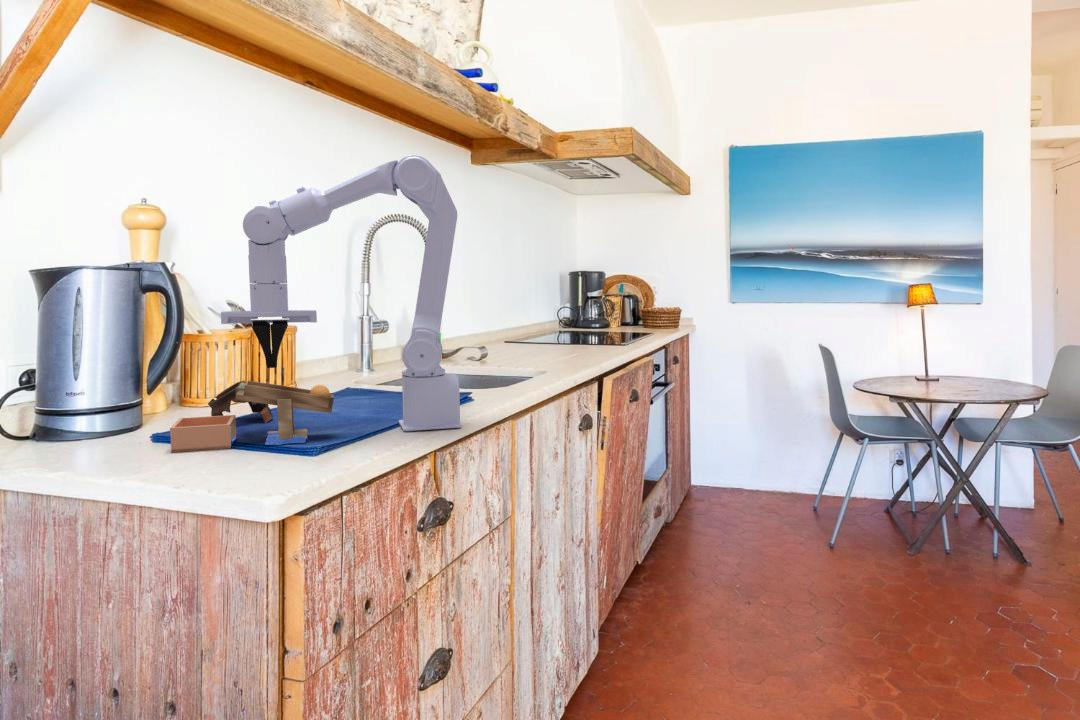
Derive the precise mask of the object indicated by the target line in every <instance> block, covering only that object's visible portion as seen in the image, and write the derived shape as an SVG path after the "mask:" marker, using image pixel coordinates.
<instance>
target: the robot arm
mask: <svg viewBox="0 0 1080 720" xmlns="http://www.w3.org/2000/svg"><path fill="white" fill-rule="evenodd" d="M397 190H399V191H400V192H401V194H402V195H403V196H404V198H406V199H407V200H409V201H410V202H412V203H414V204H415V205H416V206H418V208H419V209H420V211H421V212H422V213H423V215H424V216H425V218H427V220H428V226H427V231H426V240H425V245H424V253H423V259H422V265H421V273H420V279H419V283H418V284H419V285H418V291H417V299H416V305H415V312H414V318H413V322H412V327H411V333H410V337H409V339H408V341H407V342H406V344H404V347H403V349H402V352H401V355H402V356H401V359H402V363H403V365H404V366H405V367H406V369H405V370H402V371H401V387H402V388H401V391H402V419H398V424H399V426H400V427H401V429H402V430H403V432H414V431H415V432H416V431H428V430H430V431H431V430H444V429H459V428H461V427H462V424H461V405H460V404H461V403H460V402H461V401H460V399H461V398H460V395H461V394H460V383H459V377H458V375H457V373H452V372H451V373H450V372H449V373H446V369H445V368H443V367H442V366H441V365H440V364H441V362H442V355H443V345H442V342H441V338H440V334H441V333H440V332H441V327H442V326H441V325H442V319H443V312H444V307H445V306H444V305H445V298H446V294H447V293H446V292H447V287H448V280H449V274H450V269H451V268H450V267H451V260H452V255H453V247H454V241H455V233H456V229H457V228H456V227H457V223H458V222H457V221H458V209H457V208H456V205H455V203H454V201H453V199H452V197H451V194H450V192H449V191H448V189H447V186H446V184H445V181H444V179H443V177H442V175H441V173H440V171H438V169H437V168H436V167H435V166H434V165H433V164H432V162H430V161H429V160H428V159H427V158H425V157H424V156H421V155H418V154H410V155H405V156H404V157H402V158H401V159H400V160H399V161H398V159H394V160H390V161H387V162H385V163H383V164H380V165H378V166H375V167H373V168H371V169H369V170H367V171H365V172H362V173H360V174H358V175H356V176H354V177H352V178H350V179H348V180H346V181H343V182H341V183H338V184H337V185H334V186H332V187H331V188H328V189H326V190H324V191H323V190H320V189H317V188H315V187H310V188H306V187H304V186H301V187H299V188H297V189H296V194H292V195H291V196H289V197H286V198H283V199H281V200H279V201H277V200H276V199H273V200H271V201H269V202H268V205H269V206H265V205H256V206H255V207H254V208H252V209H251V210H249V211H248V212H247V213H246V214H245V216H244V218H243V221H242V229H243V233H244V235H246V237H247V238H248V240H247V241H248V257H247V258H248V276H249V277H248V278H249V281H248V282H249V297H250V298H249V301H250V310H239V311H236V310H234V311H232V310H231V311H230V310H229V311H220V323H221V325H229V324H251V329H252V331H253V333H254V334H255V336H256V338H257V340H258V343H259V345H260V347H261V349H262V352H263V355H264V358H265V359H264V360H265V361H266V368H267V369H274V368H275V369H276V368H277V367H278V357H279V353H280V349H281V345H282V341H283V339H284V336H285V334H286V331H287V329H288V327H289V323H310V324H311V323H317V322H318V318H317V317H318V316H317V315H318V314H317V310H315V309H312V310H309V309H308V310H305V309H304V310H303V309H302V310H297V309H296V310H292V309H291V310H289V300H288V299H289V294H288V293H289V292H288V275H287V274H288V273H287V255H286V241H287V239H288V237H289V235H290V236H296V235H298V234H301V233H302V232H305V231H307V230H309V229H313V228H315V227H317V226H319V225H321V224H325V223H327V222H329V220H330V218H331V214H332V212H333V211H334V210H337V209H339V208H343V207H345V206H348V205H350V204H353V203H354V202H358V201H360V200H363V199H365V198H368V197H371V196H373V195H374V196H375V195H376V194H383V195H388V196H389V195H390V196H394V197H396V196H398V192H397ZM280 317H281V319H259V318H280Z"/></svg>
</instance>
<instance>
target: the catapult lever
mask: <svg viewBox="0 0 1080 720" xmlns="http://www.w3.org/2000/svg"><path fill="white" fill-rule="evenodd" d="M246 383H247V384H246ZM246 383H241V384H239V386H238V387H237V388H236V392H235V394H236V398H235V400H242V401H249V402H256V403H263V404H268V405H269V406H271V405H272V406H277V400H278V399H291V406H292V408H293V409H298V410H306V411H312V412H320V413H327V414H332V410H333V404H334V399H335V397H334V393H333V392H330V396H329V397H327V396H320V395H313V394H310V391H311V389H307V388H300V387H296V386H295V387H294V386H287V385H279V384H273V383H267V382H261V381H254V380H247V381H246Z"/></svg>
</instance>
